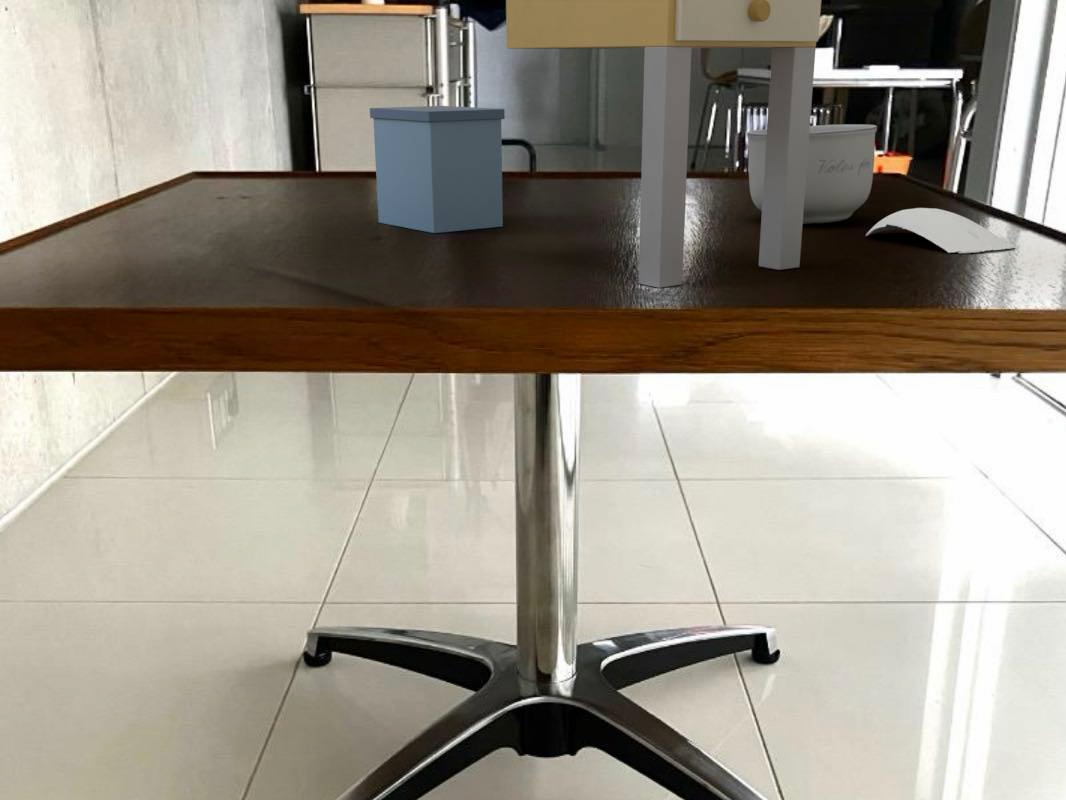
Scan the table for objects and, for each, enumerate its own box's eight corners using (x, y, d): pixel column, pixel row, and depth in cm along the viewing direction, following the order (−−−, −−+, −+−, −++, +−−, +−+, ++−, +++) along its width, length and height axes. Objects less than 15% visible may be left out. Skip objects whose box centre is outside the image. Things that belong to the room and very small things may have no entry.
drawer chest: (508, 257, 88) (504, -83, 80) (643, 241, 95) (652, -72, 87) (674, 291, 75) (689, -111, 67) (815, 270, 82) (844, -95, 74)
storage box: (375, 222, 107) (369, 107, 104) (446, 216, 111) (442, 105, 108) (433, 234, 100) (429, 111, 97) (506, 226, 104) (504, 108, 101)
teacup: (831, 232, 100) (839, 129, 97) (718, 222, 106) (723, 125, 103) (905, 216, 110) (915, 123, 107) (798, 208, 116) (805, 119, 113)
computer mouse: (957, 254, 88) (961, 221, 87) (850, 235, 98) (853, 205, 98) (1026, 248, 91) (1031, 216, 90) (915, 230, 101) (918, 201, 100)
